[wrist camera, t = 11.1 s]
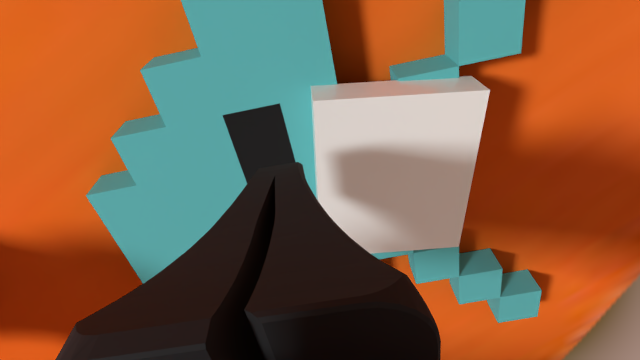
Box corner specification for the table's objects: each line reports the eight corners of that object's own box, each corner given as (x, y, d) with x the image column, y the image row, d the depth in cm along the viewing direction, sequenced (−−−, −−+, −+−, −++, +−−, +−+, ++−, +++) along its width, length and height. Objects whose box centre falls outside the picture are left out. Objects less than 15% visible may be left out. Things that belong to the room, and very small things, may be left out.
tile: (320, 257, 17) (458, 246, 17) (312, 100, 13) (489, 90, 13) (318, 233, 18) (445, 223, 18) (310, 85, 14) (471, 75, 15)
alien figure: (566, -108, 13) (20, 18, 15) (610, -114, 11) (-20, 31, 13) (518, 286, 24) (207, 339, 25) (537, 316, 22) (200, 372, 24)
